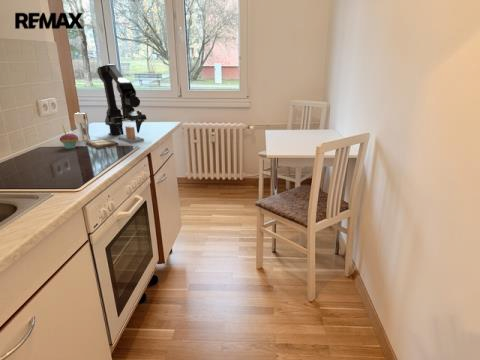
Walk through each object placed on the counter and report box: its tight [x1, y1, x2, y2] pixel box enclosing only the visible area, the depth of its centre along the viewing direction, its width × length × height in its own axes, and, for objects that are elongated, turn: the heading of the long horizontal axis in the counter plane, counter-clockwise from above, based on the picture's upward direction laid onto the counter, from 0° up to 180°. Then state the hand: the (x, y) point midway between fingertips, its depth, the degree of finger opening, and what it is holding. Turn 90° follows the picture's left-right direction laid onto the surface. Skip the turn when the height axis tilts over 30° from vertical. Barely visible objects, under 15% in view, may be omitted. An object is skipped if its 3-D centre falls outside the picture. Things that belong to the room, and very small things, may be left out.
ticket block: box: [85, 138, 120, 150], centre depth 176 cm, size 16×11×2 cm
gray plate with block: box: [117, 125, 145, 144], centre depth 186 cm, size 16×7×8 cm, turn 43°
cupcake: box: [59, 124, 79, 150], centre depth 169 cm, size 9×8×12 cm
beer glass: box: [73, 112, 91, 142], centre depth 186 cm, size 7×7×15 cm
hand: (130, 134), depth 186 cm, fingers open, 9 cm apart
